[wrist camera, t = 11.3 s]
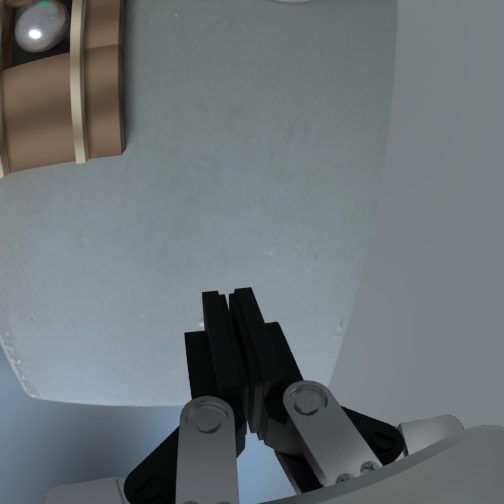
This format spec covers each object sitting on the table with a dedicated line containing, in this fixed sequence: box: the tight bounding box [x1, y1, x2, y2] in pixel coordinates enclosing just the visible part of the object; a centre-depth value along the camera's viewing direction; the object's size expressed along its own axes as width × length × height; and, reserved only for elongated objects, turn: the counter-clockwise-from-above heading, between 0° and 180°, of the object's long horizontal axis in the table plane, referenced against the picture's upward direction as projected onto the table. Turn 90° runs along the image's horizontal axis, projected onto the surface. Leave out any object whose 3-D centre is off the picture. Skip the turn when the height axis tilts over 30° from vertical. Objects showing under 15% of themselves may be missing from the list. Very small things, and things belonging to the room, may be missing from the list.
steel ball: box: [15, 0, 70, 53], centre depth 20 cm, size 6×6×6 cm
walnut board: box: [0, 0, 126, 178], centre depth 23 cm, size 22×18×4 cm
